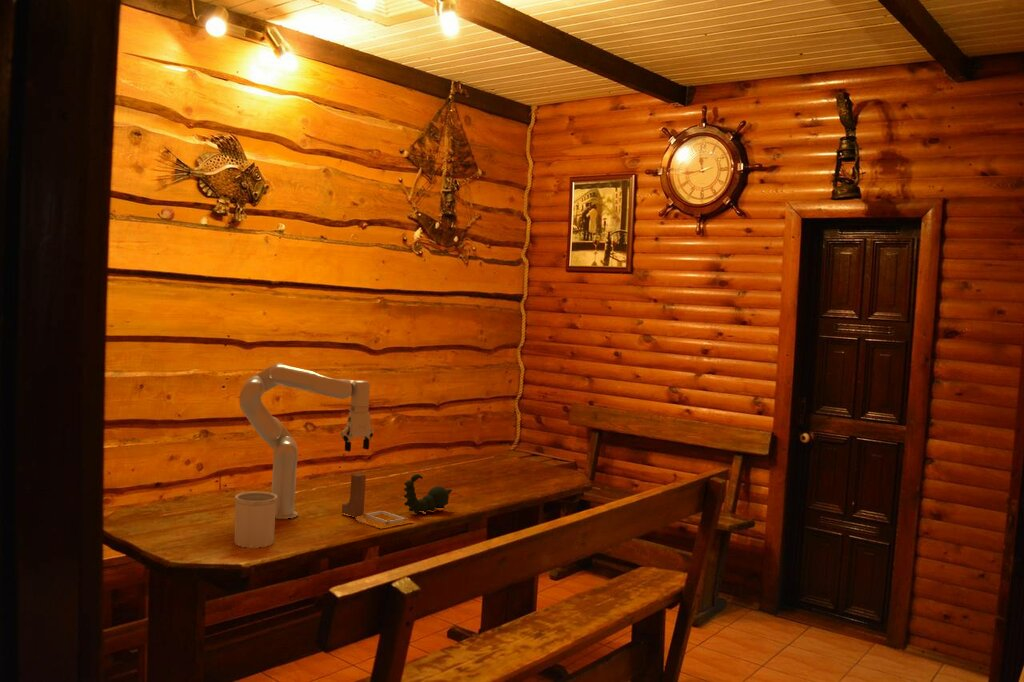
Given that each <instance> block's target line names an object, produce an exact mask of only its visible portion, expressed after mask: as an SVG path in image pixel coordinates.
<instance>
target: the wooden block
mask: <svg viewBox="0 0 1024 682" xmlns="http://www.w3.org/2000/svg"><path fill="white" fill-rule="evenodd" d="M350 477H351V478H350V492H349V501H348V503H347V502H346V503H343V504H342V506H341V514H342V513H345V514H348V515H351V516H354V517H357V516H361V515H363V516H364V514H365V513H364V511H365V497H366V496H365V495H366V482H367V481H366V479H367V476H366V474H363V473H354V474H351V476H350Z"/></svg>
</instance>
